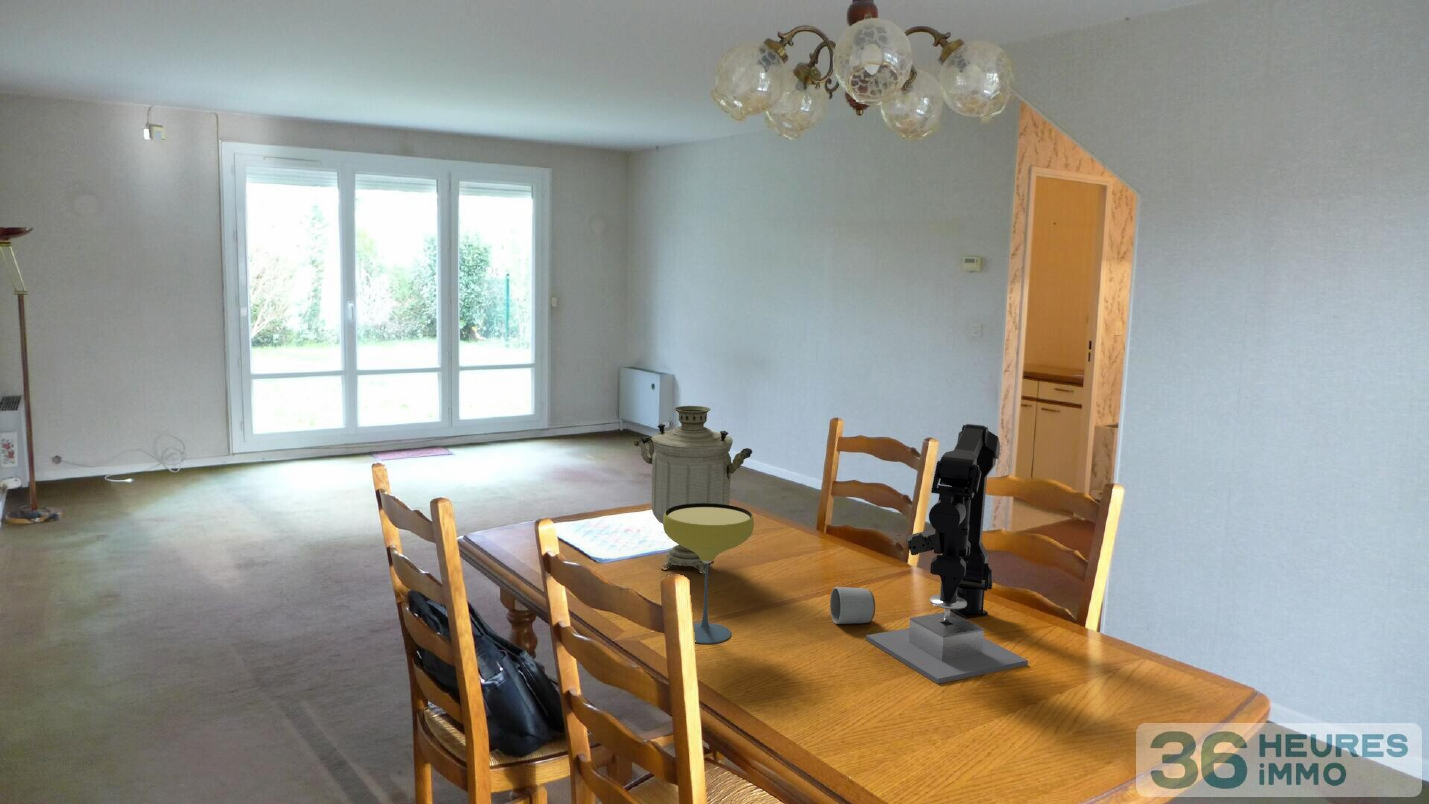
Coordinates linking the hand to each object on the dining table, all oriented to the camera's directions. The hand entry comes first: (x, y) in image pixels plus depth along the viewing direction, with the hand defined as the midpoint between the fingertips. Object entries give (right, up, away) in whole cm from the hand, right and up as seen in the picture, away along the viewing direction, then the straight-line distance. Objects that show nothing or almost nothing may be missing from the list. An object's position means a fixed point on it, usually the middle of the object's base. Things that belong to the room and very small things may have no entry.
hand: (948, 598), depth 180 cm
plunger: (0, -6, +1) cm, 6 cm away
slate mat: (0, -11, +1) cm, 11 cm away
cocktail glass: (-48, -9, +7) cm, 49 cm away
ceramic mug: (-17, -9, +17) cm, 26 cm away
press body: (0, -11, +1) cm, 11 cm away
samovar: (-51, -3, +53) cm, 73 cm away
